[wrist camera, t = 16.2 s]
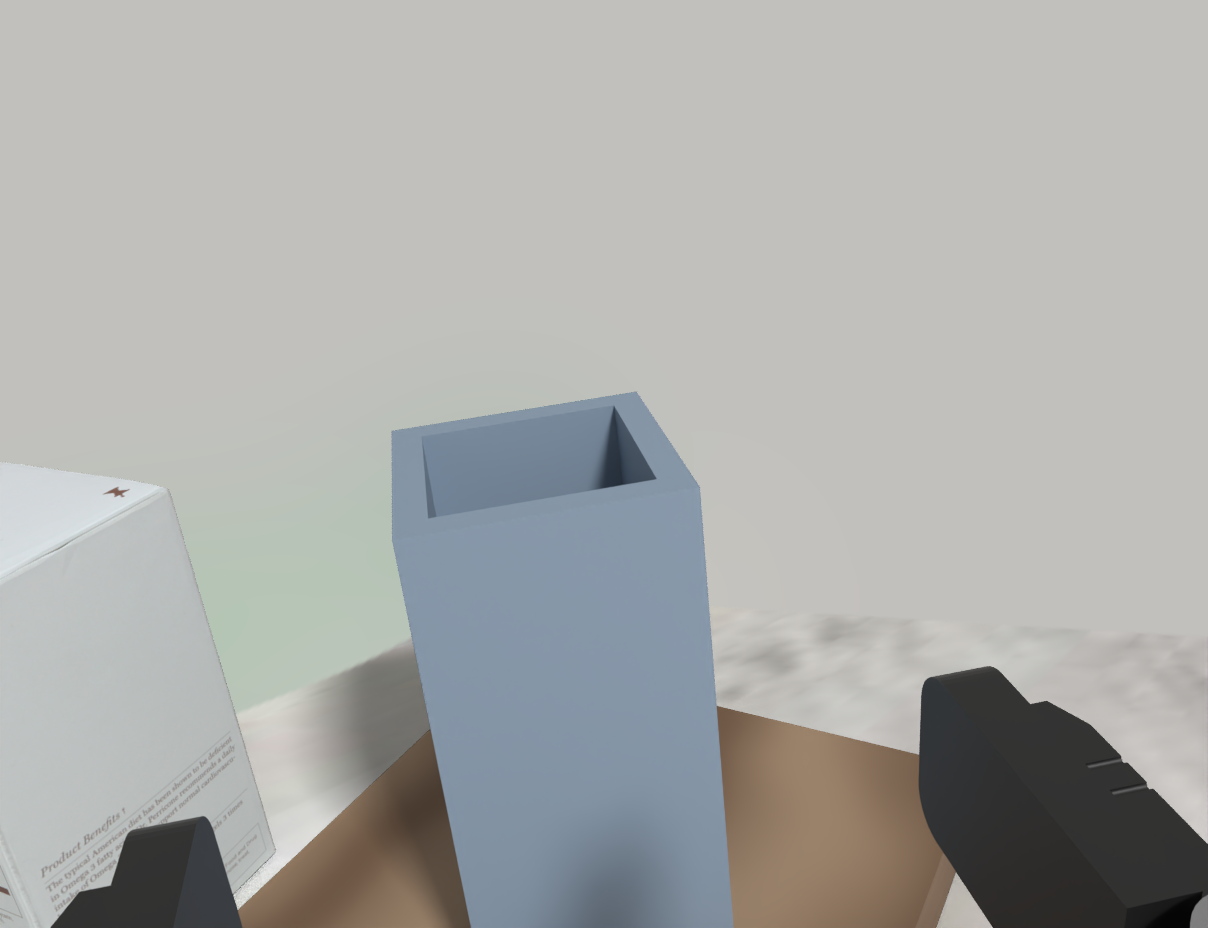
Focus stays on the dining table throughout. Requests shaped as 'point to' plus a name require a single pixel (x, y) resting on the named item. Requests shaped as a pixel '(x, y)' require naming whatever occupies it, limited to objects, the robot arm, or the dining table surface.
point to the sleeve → (566, 664)
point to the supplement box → (106, 692)
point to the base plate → (753, 828)
